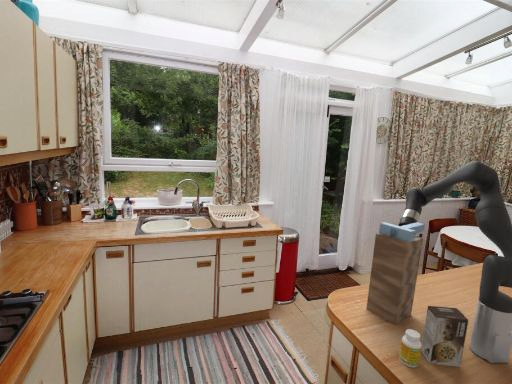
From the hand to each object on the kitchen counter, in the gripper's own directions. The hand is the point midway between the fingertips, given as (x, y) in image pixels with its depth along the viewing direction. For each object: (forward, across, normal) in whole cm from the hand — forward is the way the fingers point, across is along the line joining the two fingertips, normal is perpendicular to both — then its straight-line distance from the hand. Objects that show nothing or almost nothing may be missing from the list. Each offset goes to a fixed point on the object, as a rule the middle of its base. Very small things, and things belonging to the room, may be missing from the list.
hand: (399, 247), depth 127 cm
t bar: (+4, +1, -17) cm, 17 cm away
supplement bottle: (+47, +13, -12) cm, 50 cm away
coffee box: (+40, +21, -8) cm, 46 cm away
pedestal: (+28, +4, +5) cm, 28 cm away
